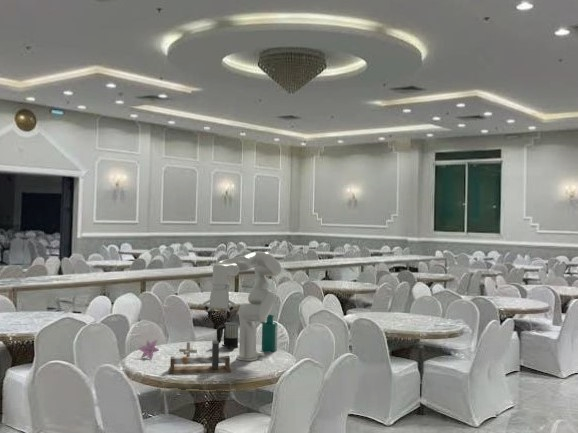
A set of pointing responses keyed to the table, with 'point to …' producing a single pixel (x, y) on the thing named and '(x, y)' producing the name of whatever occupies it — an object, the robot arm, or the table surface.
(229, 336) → the milk frother
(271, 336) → the teal bottle
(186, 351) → the pipe connector
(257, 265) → the robot arm
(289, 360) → the table surface
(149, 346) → the lily
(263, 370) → the table surface
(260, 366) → the table surface
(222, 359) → the pipe stand
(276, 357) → the table surface
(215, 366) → the dark grey tapered slab
